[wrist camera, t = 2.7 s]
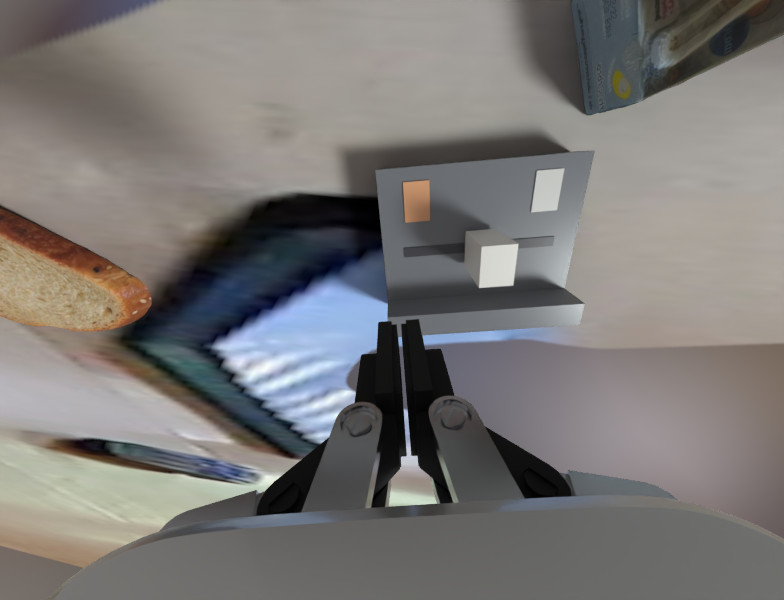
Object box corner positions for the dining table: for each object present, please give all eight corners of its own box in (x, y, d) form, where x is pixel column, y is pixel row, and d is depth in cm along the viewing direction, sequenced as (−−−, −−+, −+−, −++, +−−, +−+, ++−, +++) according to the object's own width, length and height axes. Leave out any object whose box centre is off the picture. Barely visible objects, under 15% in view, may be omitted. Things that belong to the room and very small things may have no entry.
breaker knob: (495, 228, 22) (518, 243, 18) (492, 264, 24) (513, 285, 19) (465, 231, 22) (481, 246, 18) (464, 266, 24) (479, 288, 20)
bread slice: (168, 310, 30) (140, 328, 27) (38, 350, 32) (-3, 372, 29) (24, 123, 22) (-41, 116, 19) (-133, 194, 25) (-215, 199, 21)
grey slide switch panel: (570, 151, 23) (625, 148, 17) (544, 294, 29) (579, 324, 23) (377, 169, 23) (372, 171, 18) (390, 304, 29) (389, 337, 24)
